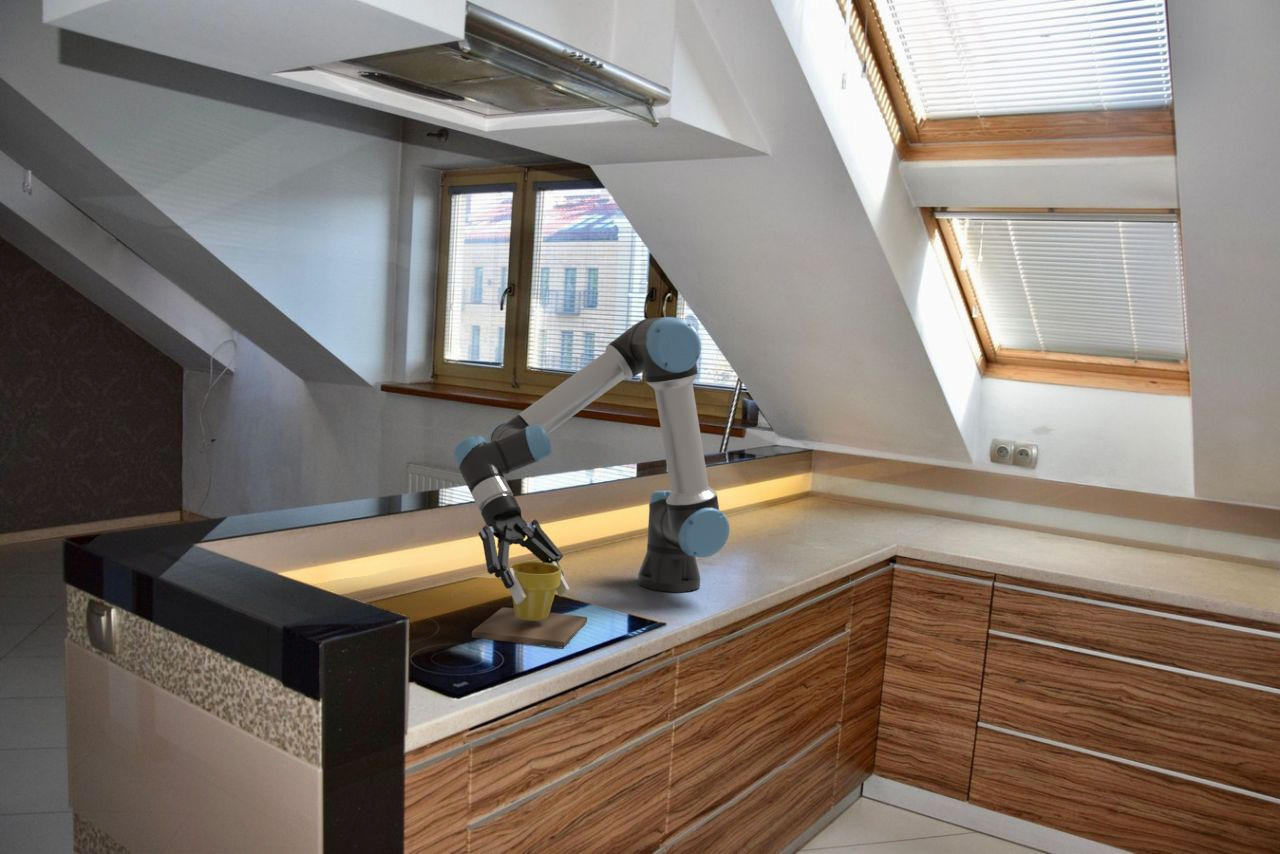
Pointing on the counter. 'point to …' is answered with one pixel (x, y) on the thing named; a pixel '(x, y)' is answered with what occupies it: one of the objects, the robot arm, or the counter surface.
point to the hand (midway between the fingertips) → (543, 596)
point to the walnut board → (530, 628)
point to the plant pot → (536, 589)
